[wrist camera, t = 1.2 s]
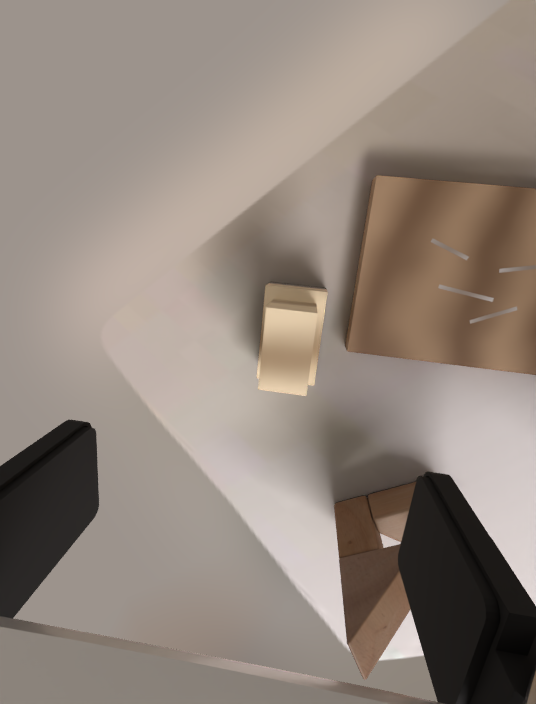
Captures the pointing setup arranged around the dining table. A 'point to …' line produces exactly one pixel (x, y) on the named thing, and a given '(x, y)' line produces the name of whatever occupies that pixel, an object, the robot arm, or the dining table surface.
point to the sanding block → (290, 337)
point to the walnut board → (447, 275)
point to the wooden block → (372, 570)
